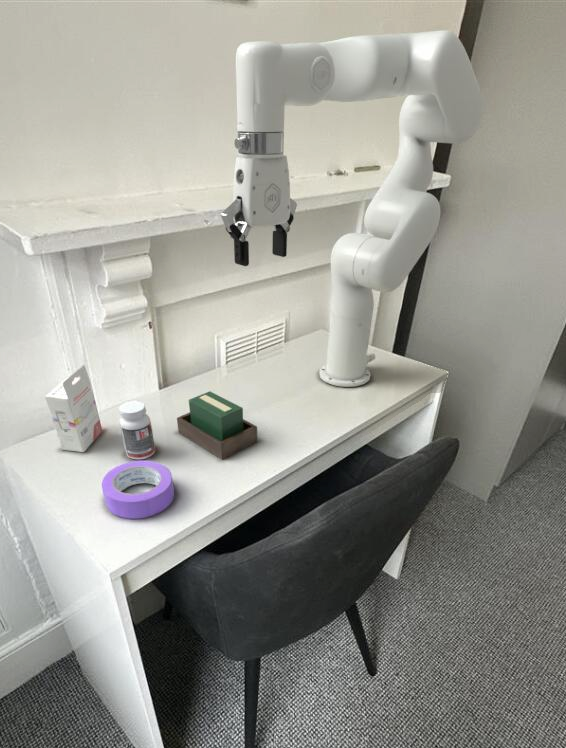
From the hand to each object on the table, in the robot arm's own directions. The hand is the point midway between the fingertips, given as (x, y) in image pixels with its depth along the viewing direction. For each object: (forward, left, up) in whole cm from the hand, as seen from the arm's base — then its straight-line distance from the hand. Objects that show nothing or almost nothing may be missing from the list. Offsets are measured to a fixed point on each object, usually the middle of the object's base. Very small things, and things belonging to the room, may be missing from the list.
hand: (261, 260), depth 92 cm
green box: (+15, +3, -30) cm, 34 cm away
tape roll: (+38, +9, -31) cm, 50 cm away
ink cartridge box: (+36, -15, -31) cm, 50 cm away
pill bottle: (+30, -3, -31) cm, 43 cm away
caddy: (+16, +3, -30) cm, 34 cm away
